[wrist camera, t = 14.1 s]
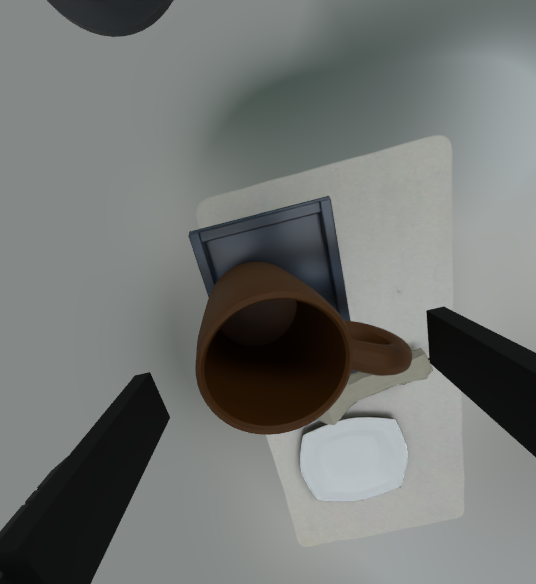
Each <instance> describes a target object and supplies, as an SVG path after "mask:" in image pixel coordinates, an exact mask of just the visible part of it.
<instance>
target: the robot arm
mask: <svg viewBox="0 0 536 584" xmlns="http://www.w3.org/2000/svg"><path fill="white" fill-rule="evenodd" d="M427 326H428V341H429V357H430V363H431V364H432V365H433V366H434V367H435V368H436V369H437V370H438V371H440V372H441V373H442V374H443V375H444V376H445V377H446V378H447V379H448V380H450V381H451V382H452V383H453V384H454V385H455V386H456V387H457V388H459V389H460V390H461V391H462V392H463V393H464V394H465V395H467V396H468V397H469V398H470V399H471V400H472V401H473V402H474V403H476V404H477V405H478V406H479V407H480V408H481V409H482V410H483V411H484V412H486V413H487V414H488V415H489V416H490V417H491V418H492V419H493V420H495V421H496V422H497V423H498V424H499V425H500V426H501V427H502V428H504V429H505V430H506V431H507V432H508V433H509V434H510V435H511V436H512V437H514V438H515V439H516V440H517V441H518V442H519V443H520V444H521V445H523V446H524V447H525V448H526V449H527V450H528V451H529V452H530V453H532V454H533V455H534V456H535V457H536V353H535V352H533V351H531V350H529V349H527V348H525V347H523V346H521V345H518V344H517V343H515V342H513V341H511V340H509V339H507V338H505V337H503V336H501V335H499V334H497V333H495V332H493V331H491V330H489V329H487V328H485V327H483V326H481V325H479V324H477V323H475V322H473V321H471V320H469V319H467V318H465V317H463V316H461V315H459V314H457V313H455V312H453V311H451V310H450V309H448V308H446V307H440V308H436V309H431V310H427ZM169 419H170V416H169V414H168V412H167V409H166V407H165V405H164V403H163V400H162V398H161V396H160V394H159V391H158V389H157V387H156V385H155V382H154V380H153V378H152V376H151V374H150V372H149V373H145V374H140V375H135V376H134V377H133V379H132V380H131V381H130V382H129V383H128V385H127V386H126V387H125V388H124V390H123V391H122V392H121V393H120V394H119V396H118V397H117V398H116V399H115V401H114V402H113V403H112V404H111V405H110V407H109V408H108V409H107V410H106V411H105V413H104V414H103V415H102V416H101V417H100V419H99V420H98V421H97V422H96V423H95V425H94V426H93V427H92V428H91V429H90V431H89V432H88V433H87V434H86V436H85V437H84V438H83V439H82V440H81V442H80V443H79V444H78V445H77V446H76V448H75V449H74V450H73V451H72V452H71V454H70V455H69V456H68V457H67V458H65V459H64V460H63V461H62V462H61V463H60V464H59V465H57V466H56V467H55V468H54V469H53V470H52V471H51V472H50V473H49V474H48V475H47V477H46V478H45V479H44V480H43V481H42V483H41V484H40V485H39V486H38V487H37V488H38V489H37V490H36V491H34V492H33V493H32V494H31V496H30V497H29V498H28V499H27V500H26V503H25V505H22V506H21V507H20V509H19V510H18V511H17V512H16V513H15V515H14V516H13V517H12V518H11V519H10V520H9V522H8V523H7V524H6V525H5V526H4V528H3V529H2V530H1V531H0V584H91V582H92V579H93V577H94V575H95V573H96V571H97V569H98V567H99V565H100V563H101V560H102V559H103V556H104V554H105V552H106V550H107V548H108V546H109V544H110V542H111V540H112V538H113V535H114V533H115V531H116V529H117V527H118V525H119V523H120V521H121V519H122V517H123V515H124V513H125V511H126V508H127V506H128V504H129V502H130V500H131V498H132V496H133V494H134V492H135V490H136V487H137V485H138V483H139V481H140V479H141V477H142V475H143V473H144V471H145V469H146V467H147V465H148V462H149V460H150V458H151V456H152V454H153V452H154V450H155V448H156V446H157V443H158V442H159V440H160V437H161V435H162V433H163V431H164V429H165V427H166V425H167V423H168V421H169Z"/></svg>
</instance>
